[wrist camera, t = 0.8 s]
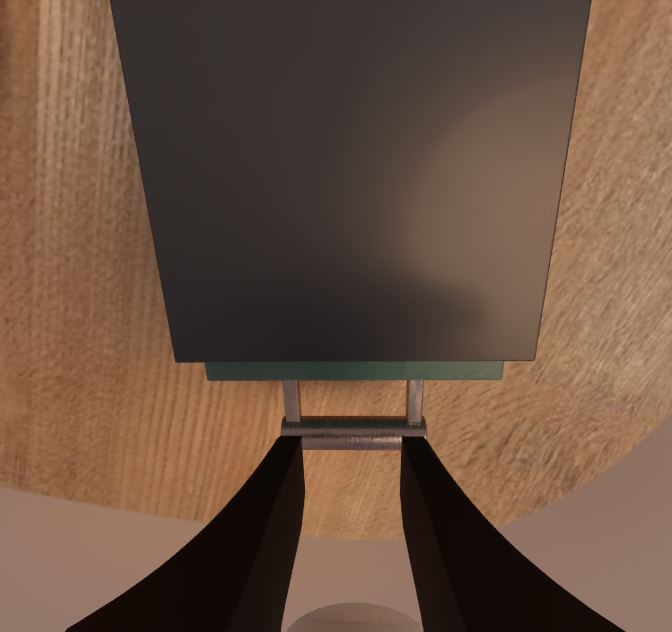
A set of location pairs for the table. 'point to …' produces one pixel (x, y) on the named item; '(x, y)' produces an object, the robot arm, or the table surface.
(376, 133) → the dark grey storage box
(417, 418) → the drawer
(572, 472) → the table surface
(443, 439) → the table surface
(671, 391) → the table surface
